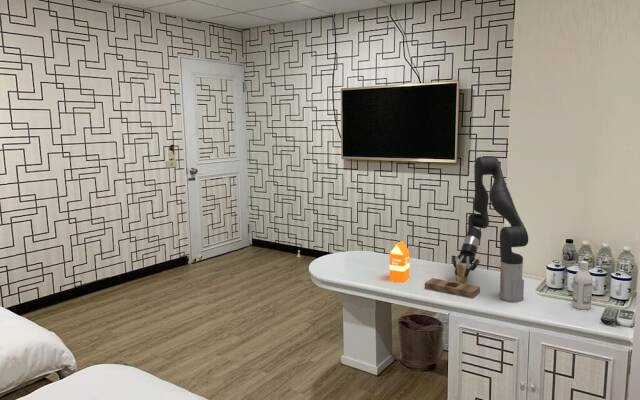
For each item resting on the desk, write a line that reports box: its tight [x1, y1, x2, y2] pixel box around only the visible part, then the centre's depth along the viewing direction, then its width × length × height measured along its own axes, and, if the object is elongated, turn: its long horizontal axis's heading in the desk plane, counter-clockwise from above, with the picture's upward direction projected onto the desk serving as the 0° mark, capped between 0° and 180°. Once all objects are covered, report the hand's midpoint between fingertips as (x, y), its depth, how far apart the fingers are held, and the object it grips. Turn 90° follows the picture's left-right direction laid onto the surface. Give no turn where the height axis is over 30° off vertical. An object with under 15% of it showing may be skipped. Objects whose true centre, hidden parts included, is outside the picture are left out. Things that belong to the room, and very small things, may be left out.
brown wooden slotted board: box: [424, 277, 481, 299], centre depth 226 cm, size 24×9×3 cm, turn 52°
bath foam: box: [571, 260, 593, 311], centre depth 200 cm, size 7×7×20 cm
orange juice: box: [389, 240, 411, 284], centre depth 244 cm, size 8×9×20 cm
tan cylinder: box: [456, 263, 469, 284], centre depth 236 cm, size 4×4×10 cm
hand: (460, 275), depth 234 cm, fingers closed on tan cylinder, 4 cm apart
